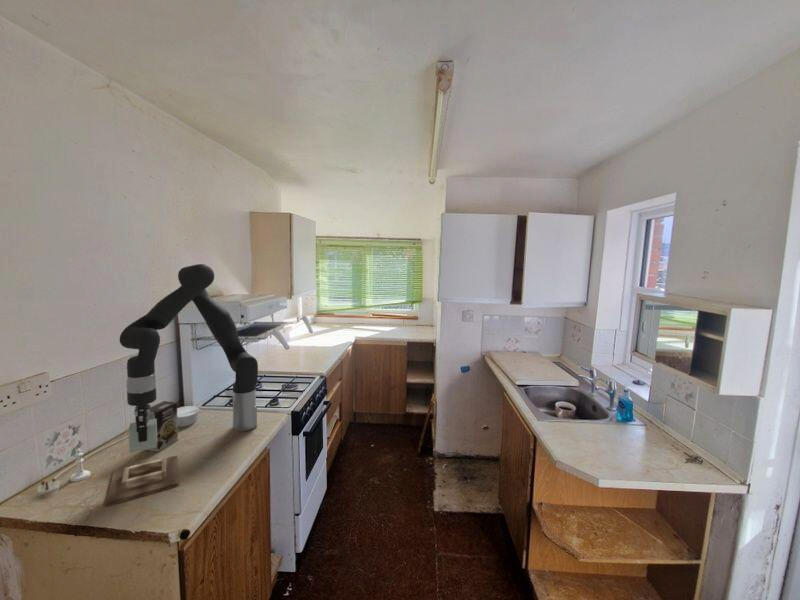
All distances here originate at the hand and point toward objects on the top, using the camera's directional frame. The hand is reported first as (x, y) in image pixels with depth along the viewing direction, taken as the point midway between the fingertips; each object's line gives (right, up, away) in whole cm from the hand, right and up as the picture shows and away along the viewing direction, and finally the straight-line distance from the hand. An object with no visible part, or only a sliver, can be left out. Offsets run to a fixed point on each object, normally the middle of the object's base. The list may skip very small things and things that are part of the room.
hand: (143, 437), depth 110 cm
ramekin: (-12, -10, +40) cm, 43 cm away
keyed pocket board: (0, -15, +2) cm, 15 cm away
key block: (0, -3, 0) cm, 3 cm away
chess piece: (-22, -14, +1) cm, 26 cm away
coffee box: (-10, -12, +22) cm, 27 cm away
